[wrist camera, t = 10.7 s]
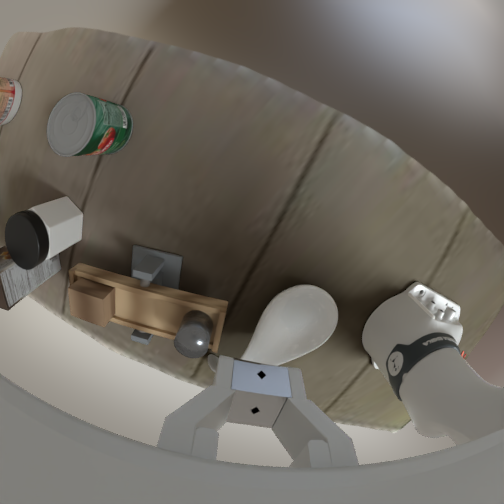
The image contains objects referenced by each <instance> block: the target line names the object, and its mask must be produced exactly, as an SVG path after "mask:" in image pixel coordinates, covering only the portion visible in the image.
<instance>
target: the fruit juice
mask: <svg viewBox="0 0 504 504" xmlns="http://www.w3.org/2000/svg"><path fill="white" fill-rule="evenodd" d="M21 98H22V88H21V85H20V83H19V82H18V81H16V80H14V79H8V78H1V77H0V125H4V124H7V123H8V122H10V121H11V120H12V119H13V118H14V116H15V115H16V113H17V111H18V108H19V106H20V102H21Z"/></svg>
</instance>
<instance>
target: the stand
mask: <svg viewBox="0 0 504 504" xmlns="http://www.w3.org/2000/svg"><path fill="white" fill-rule="evenodd" d="M182 259H183V256H180V255H175V254H171V253H167V252H163V251H159V250H154V249H150V248H146V247H142V246H138V245H134V246H133V253H132V267H131V278H135V279H138V280H140V278H141V279H145V280H148V281H150V283H154V284H157V285H161V286H165V287H169V288H173V289H177V290H178V287H179V280H180V273H181V266H182ZM152 336H153V334H151V333H147V332H145V333H141V332H139V331H138V330H137V329H135V330H134V332H133V333H132V335H131V340H133V341H136V342H139V343H143V344H146V345H148V344H149V342H150V340H151V338H152Z"/></svg>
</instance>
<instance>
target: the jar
mask: <svg viewBox="0 0 504 504" xmlns="http://www.w3.org/2000/svg"><path fill="white" fill-rule="evenodd" d="M82 223H83V213H82V212H81V211H80V210H79V209H78V208H77V206H76V205H75V204H74V203H73V202H72V201H71V200H70V199H69V198H68V197H67V196H65V197H62V198H59V199H56V200H52V201H49V202H46V203H43V204H40V205H37V206H34V207H31V208H30V209H28V210H26V211H21V212H18V213H16V214H14V215H13V216H11V217H10V218H9V220H8V222H7V224H6V228H5V241H6V246H7V249H8V252H9V254H10V256H11V258H12V260H13V261H14V262H15V263H16V265H18V266H19V267H20V268H22V269H25V270H31V269H33V268H35V267H36V266H38V265H39V264H41V263H42V262H44V261H45V260H47V259H50V258H51V257H53V256H55V255H56V254H58V253H60V252H61V251H63V250H65V249H66V248H68V247H70V246H71V245H73V244H75V243H77V242H78V241H80V240H81V239H82Z"/></svg>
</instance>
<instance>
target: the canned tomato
mask: <svg viewBox="0 0 504 504" xmlns="http://www.w3.org/2000/svg"><path fill="white" fill-rule="evenodd" d="M132 131H133V119H132V116H131V114H130V112H129V111H128V110H127V108H125V107H124V106H122V105H119V104H115V103H112V102H109V101H106V100H103V99H100V98H96V97H93V96H90V95H86V94H83V93H80V92H74V93H70V94H68V95H66V96H64V97H63V98H62V99H60V101H59V102H58V103H57V104H56V105H55V107H54V108H53V110H52V112H51V114H50V116H49V119H48V124H47V139H48V143H49V145H50V147H51V149H52V150H53V151H54V152H55V153H56V154H58V155H60V156H64V157H69V156H81V155H99V154H113V153H116V152H118V151H120V150H121V149H122V148H124V146H125V145H126V144H127V143H128V141H129V139H130V137H131V135H132Z"/></svg>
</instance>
